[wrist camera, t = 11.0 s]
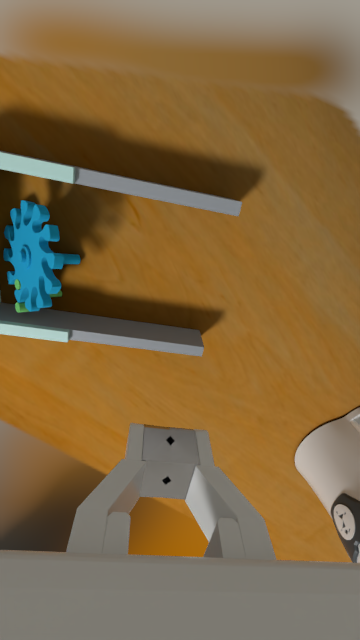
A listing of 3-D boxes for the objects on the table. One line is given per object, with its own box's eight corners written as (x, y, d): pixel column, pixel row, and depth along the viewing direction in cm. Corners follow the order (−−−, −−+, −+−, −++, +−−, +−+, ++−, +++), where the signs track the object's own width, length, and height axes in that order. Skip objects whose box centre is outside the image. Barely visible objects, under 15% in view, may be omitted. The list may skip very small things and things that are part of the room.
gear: (6, 177, 26) (58, 238, 22) (67, 191, 31) (120, 244, 27) (-11, 279, 32) (28, 342, 28) (43, 278, 36) (84, 332, 32)
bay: (232, 199, 30) (245, 203, 25) (197, 338, 37) (202, 361, 32) (-25, 145, 26) (-61, 139, 22) (-10, 310, 33) (-36, 331, 29)
